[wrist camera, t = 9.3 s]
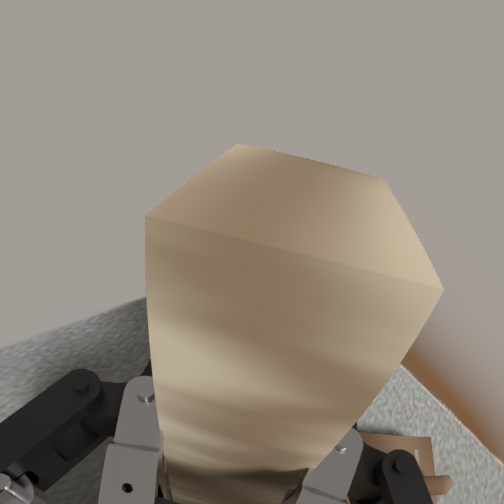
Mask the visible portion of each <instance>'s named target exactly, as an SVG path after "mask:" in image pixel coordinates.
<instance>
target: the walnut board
mask: <svg viewBox="0 0 504 504" xmlns="http://www.w3.org/2000/svg"><path fill="white" fill-rule="evenodd" d="M358 433H359V434H360V435H361V437H362V440H363V441H364V442H365V443H366V444H367V445H369V446H371V447H373V448H375V449H378V450H380V451H382V452H385V453H387V454H388V453H389V452H391V451H393V450H396V449H402V450H406V451H408V452H410V453H411V454H412V455H413V456H414V457H415V459H416V460H417V463H418V465H419V468H420V470H421V473H422V475H423V476H435V472H434V461H433V452H432V444H431V437H413V436H397V435H385V434H375V433H365V432H358ZM431 499H432V501H433V504H437V502H436V495H431ZM346 502H348V504H350V501H349V498H348V497H347V496H346ZM279 504H280V503H279Z"/></svg>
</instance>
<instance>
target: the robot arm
mask: <svg viewBox="0 0 504 504" xmlns="http://www.w3.org/2000/svg"><path fill="white" fill-rule="evenodd" d="M109 436H111V437H114V440H113V442H111V443H110V444H109V445H108V448H107V451H106V456H105V461H104V467H103V473H102V479H101V486H100V492H99V499H98V504H179V503H176V502H173V501H170V500H167V466H168V460H167V457H165V456H164V453H163V443H164V434H163V431H162V430H160V428H159V422H158V415H157V407H156V400H155V392H154V383H153V374H152V365H151V359H150V361H149V363H148V365H147V366H146V368H145V370H144V372H143V373H142V374H141V375H140V376H139V377H136V378H134V379H132V380H130V381H129V382H127V383H112V382H103V381H100V379H99V377H98V376H97V375H96V374H95V373H94V372H92V371H90V370H87V369H76V370H73V371H71V372H69V373H68V374H67V375H65V376H64V377H62V378H61V379H60V380H58V381H57V382H56V383H54V384H53V385H52V386H50V387H49V388H47V389H46V390H45V391H43V392H42V393H41V394H39V395H38V396H37V397H35V398H34V399H32V400H31V401H30V402H28V403H27V404H26V405H24V406H23V407H22V408H20V409H19V410H18V411H16V412H15V413H13V414H12V415H11V416H9V417H8V418H7V419H5V420H4V421H3V422H1V423H0V504H46V498H45V495H44V493H43V492H44V491H46V490H47V489H48V488H49V487H51V486H52V485H53V484H54V483H55V482H57V481H58V480H59V479H60V478H61V477H63V476H64V475H65V474H66V473H67V472H68V471H70V470H71V469H72V468H73V467H74V466H76V465H77V464H78V463H79V462H80V461H81V460H83V459H84V458H85V457H86V456H87V455H88V454H90V453H91V452H92V451H93V450H94V449H95V448H96V447H98V446H99V445H100V444H101V443H102V442H103V441H104V440H106V439H107V438H108V437H109ZM346 496H347V497H348V498H349V501H350V504H433V501H432V499H431V496H430V493H429V491H428V488H427V485H426V483H425V480H424V478H423V475H422V473H421V470H420V468H419V465H418V463H417V460H416V459H415V457H414V456H413V455H412V454H411V453H410V452H408V451H406V450H402V449H396V450H393V451H391V452H389V453H388V454H387V453H385V452H382V451H380V450H378V449H375V448H373V447H371V446H369V445H367V444H366V443H365V442H364V441H363V440H362V437H361V435H360V434H359V433H358V431H357V422H356V423H355V424H354V425H353V426H352V428H351V429H350V430H349V431H348V432H347V434H346V435H345V436H344V437H343V438H342V439H341V441H340V442H339V443H338V444H337V445H336V446H335V447H334V449H333V450H332V451H331V452H330V453H329V454H328V455H327V456H326V457H325V458H324V460H323V461H322V462H321V463H320V464H319V465H318V466H317V467H316V468H309V469H308V470H307V471H306V472H305V473H304V475H303V477H302V479H301V481H300V483H299V485H298V486H297V487H296V488H295V489H289V490H288V491H287V492H286V493H285V495H284V497H283V499H282V500H281V502H280V504H348V502H346Z"/></svg>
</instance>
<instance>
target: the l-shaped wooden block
mask: <svg viewBox="0 0 504 504" xmlns="http://www.w3.org/2000/svg"><path fill="white" fill-rule="evenodd" d="M145 266H146V268H145V269H146V296H147V315H148V330H149V343H150V354H151V365H152V374H153V383H154V392H155V400H156V407H157V415H158V422H159V428H160V430H162V431H163V434H164V443H163V453H164V456H165V457H167V460H168V466H167V474H168V479H169V484H170V489H171V494H172V498H173V502H176V503H179V504H279V503H280V502H281V500H282V499H283V497H284V495H285V493H286V492H287V491H288V490H289V489H295V488H296V487H297V486H298V485H299V483H300V481H301V479H302V477H303V475H304V473H305V472H306V471H307V470H308V469H309V468H316V467H317V466H318V465H319V464H320V463H321V462H322V461H323V460H324V458H325V457H326V456H327V455H328V454H329V453H330V452H331V451H332V450H333V449H334V447H335V446H336V445H337V444H338V443H339V442H340V441H341V439H342V438H343V437H344V436H345V435H346V434H347V432H348V431H349V430H350V429H351V428H352V426H353V425H354V424H355V423H356V422H357V420H358V419H359V418H360V417H361V415H362V414H363V413H364V412H365V410H366V409H367V408H368V406H369V405H370V404H371V403H372V401H373V400H374V399H375V397H376V396H377V395H378V393H379V392H380V391H381V389H382V388H383V386H384V385H385V384H386V382H387V381H388V380H389V378H390V377H391V375H392V374H393V372H394V371H395V370H396V368H397V367H398V365H399V364H400V362H401V361H402V359H403V358H404V356H405V355H406V353H407V352H408V350H409V348H410V347H411V345H412V344H413V342H414V340H415V339H416V337H417V336H418V334H419V333H420V331H421V329H422V327H423V326H424V324H425V323H426V321H427V319H428V317H429V316H430V314H431V312H432V311H433V309H434V307H435V305H436V303H437V302H438V300H439V298H440V296H441V294H442V292H443V291H444V288H443V286H442V284H441V282H440V280H439V278H438V276H437V274H436V271H435V269H434V267H433V265H432V263H431V261H430V260H429V257H428V256H427V254H426V252H425V250H424V248H423V246H422V244H421V243H420V240H419V238H418V237H417V235H416V233H415V231H414V229H413V228H412V226H411V224H410V222H409V221H408V219H407V217H406V215H405V214H404V212H403V210H402V208H401V207H400V205H399V203H398V202H397V200H396V198H395V197H394V195H393V193H392V192H391V190H390V188H389V187H388V185H387V184H386V182H385V180H383V179H380V178H377V177H374V176H370V175H366V174H363V173H360V172H356V171H352V170H349V169H345V168H341V167H338V166H334V165H330V164H326V163H322V162H318V161H314V160H310V159H306V158H301V157H297V156H293V155H289V154H284V153H280V152H275V151H271V150H266V149H260V148H256V147H251V146H246V145H240V144H236V145H235V146H234V147H232V148H231V149H230V150H228V151H227V152H226V153H224V154H223V155H221V156H220V157H219V158H217V159H216V160H215V161H214V162H212V163H211V164H209V165H208V166H207V167H206V168H204V169H203V170H202V171H200V172H199V173H198V174H196V175H195V176H194V177H192V178H191V179H190V180H189V181H188V182H186V183H185V184H184V185H182V186H181V187H180V188H178V189H177V190H176V191H175V192H173V193H172V194H171V195H170V196H169V197H167V198H166V199H165V200H164V201H162V202H161V203H160V204H159V205H158V206H156V207H155V208H154V209H153V210H152V211H150V212H149V213H148V214H147V215H146V216H145ZM423 478H424V480H425V483H426V485H427V488H428V491H429V493H430V496H431V495H443V494H446V493H447V492H448V491H449V490H450V487H451V478H450V476H448V475H442V476H423Z"/></svg>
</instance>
